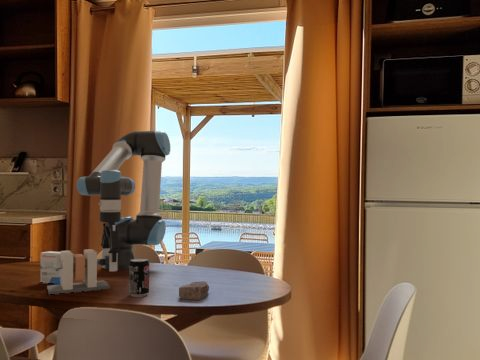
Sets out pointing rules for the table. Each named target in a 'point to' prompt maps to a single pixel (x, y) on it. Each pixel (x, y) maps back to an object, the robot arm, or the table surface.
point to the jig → (67, 275)
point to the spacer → (79, 267)
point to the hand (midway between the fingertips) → (109, 268)
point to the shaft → (100, 262)
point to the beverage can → (138, 277)
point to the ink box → (50, 267)
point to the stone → (194, 290)
